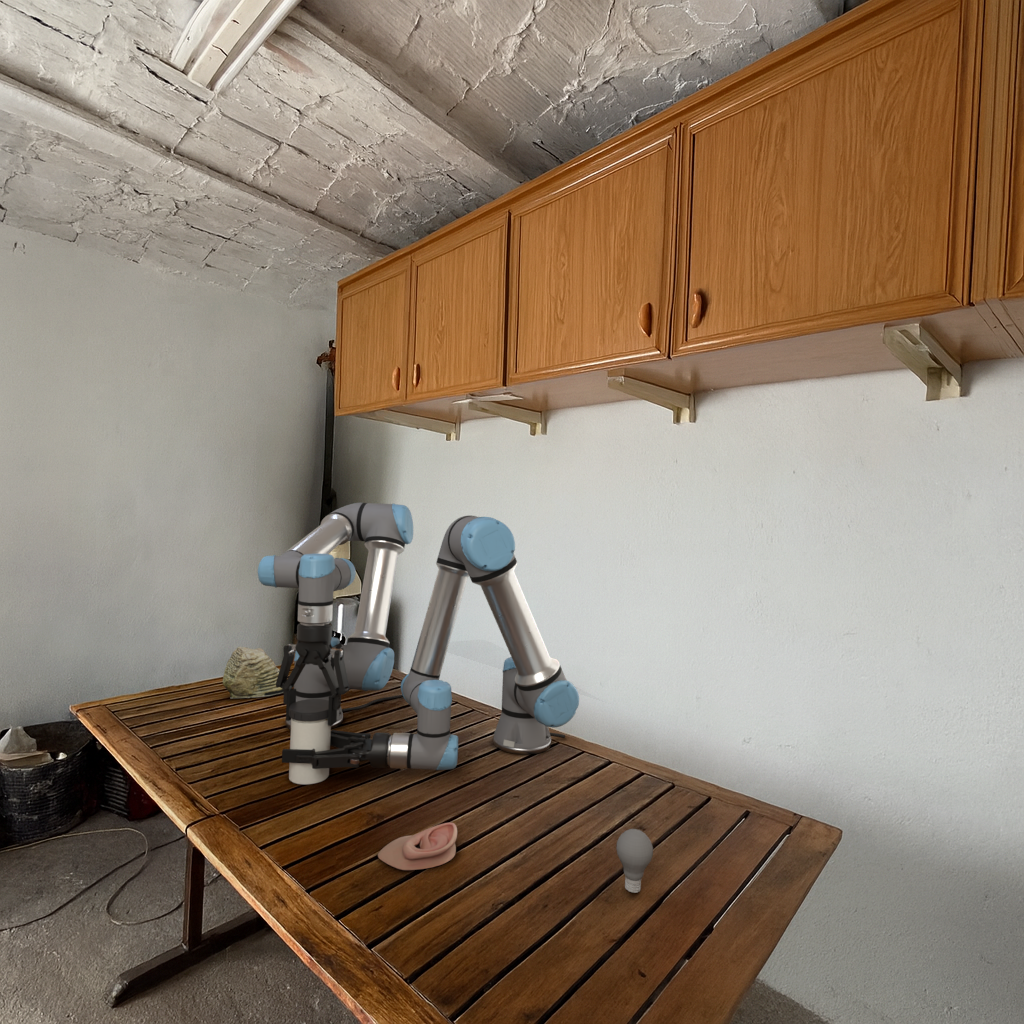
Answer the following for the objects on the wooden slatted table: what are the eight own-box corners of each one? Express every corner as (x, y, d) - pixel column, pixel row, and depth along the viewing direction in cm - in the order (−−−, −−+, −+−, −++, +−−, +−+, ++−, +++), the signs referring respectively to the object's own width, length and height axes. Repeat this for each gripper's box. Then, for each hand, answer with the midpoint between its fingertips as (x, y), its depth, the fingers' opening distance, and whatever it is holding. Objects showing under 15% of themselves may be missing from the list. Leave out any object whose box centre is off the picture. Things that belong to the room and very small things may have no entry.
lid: (279, 716, 141) (279, 707, 141) (310, 704, 150) (310, 696, 150) (312, 724, 137) (312, 715, 137) (342, 711, 145) (342, 703, 145)
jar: (280, 780, 141) (283, 712, 140) (305, 765, 149) (308, 701, 149) (312, 787, 138) (315, 718, 138) (336, 772, 146) (339, 706, 146)
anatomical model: (371, 842, 110) (396, 811, 121) (370, 865, 110) (395, 831, 121) (444, 854, 107) (463, 821, 118) (443, 877, 107) (462, 842, 118)
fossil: (218, 695, 195) (220, 647, 195) (278, 685, 208) (279, 640, 207) (228, 703, 189) (230, 653, 188) (289, 692, 201) (290, 645, 201)
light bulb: (610, 879, 108) (613, 822, 108) (644, 879, 109) (647, 822, 109) (619, 902, 102) (622, 840, 102) (655, 901, 103) (658, 840, 103)
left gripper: (260, 621, 141) (257, 721, 142) (353, 630, 137) (349, 732, 137) (279, 615, 149) (276, 710, 149) (368, 623, 144) (364, 721, 145)
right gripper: (381, 788, 133) (272, 785, 132) (396, 748, 155) (303, 745, 154) (382, 752, 133) (273, 749, 132) (397, 717, 154) (304, 714, 154)
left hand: (311, 721), depth 143 cm, fingers closed on lid, 10 cm apart
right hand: (289, 747), depth 143 cm, fingers closed on jar, 9 cm apart
